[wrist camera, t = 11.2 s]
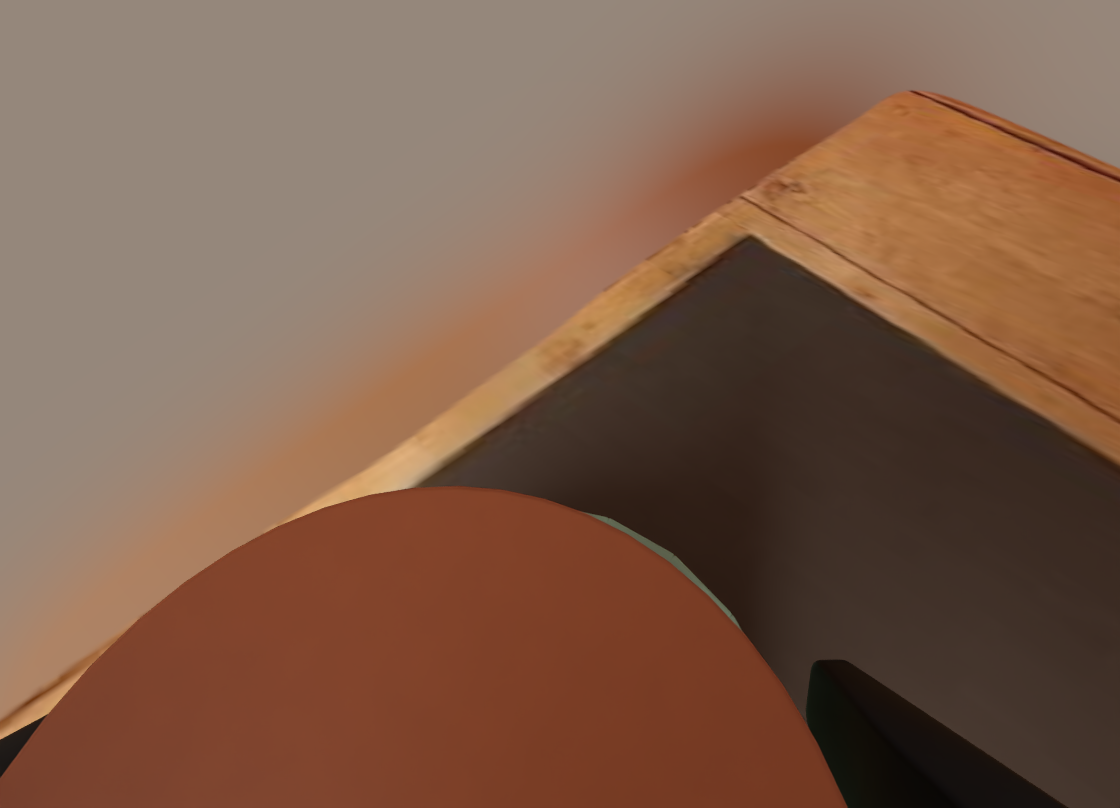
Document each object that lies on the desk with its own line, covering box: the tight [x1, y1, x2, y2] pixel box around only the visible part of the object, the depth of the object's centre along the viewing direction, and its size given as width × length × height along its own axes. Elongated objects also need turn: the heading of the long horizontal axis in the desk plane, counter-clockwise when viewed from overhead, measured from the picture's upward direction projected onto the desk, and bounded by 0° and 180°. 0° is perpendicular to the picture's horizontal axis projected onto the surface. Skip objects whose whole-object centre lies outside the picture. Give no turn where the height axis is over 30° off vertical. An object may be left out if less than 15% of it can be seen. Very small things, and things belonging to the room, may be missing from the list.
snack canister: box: [0, 486, 848, 808], centre depth 9 cm, size 6×6×13 cm
